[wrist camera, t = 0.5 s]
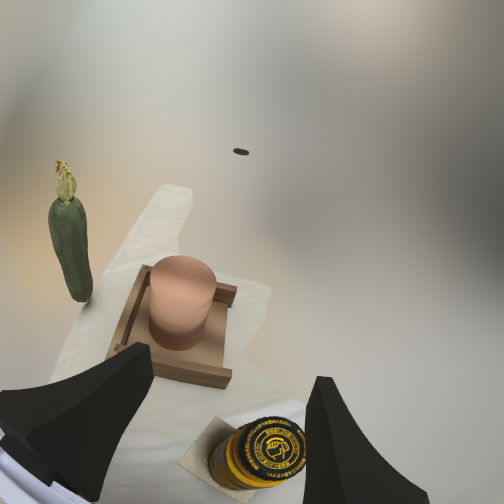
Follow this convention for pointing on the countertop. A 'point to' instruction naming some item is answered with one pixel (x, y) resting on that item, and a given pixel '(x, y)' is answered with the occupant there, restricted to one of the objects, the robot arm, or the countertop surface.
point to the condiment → (247, 455)
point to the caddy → (178, 321)
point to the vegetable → (70, 236)
